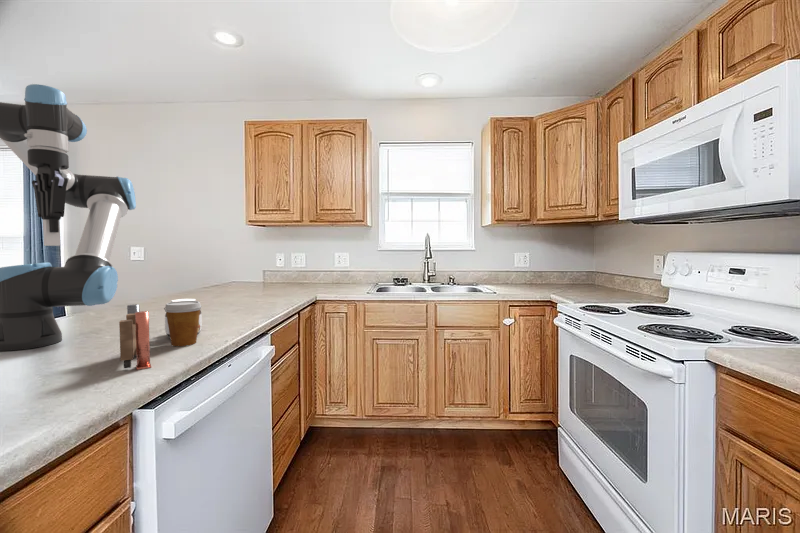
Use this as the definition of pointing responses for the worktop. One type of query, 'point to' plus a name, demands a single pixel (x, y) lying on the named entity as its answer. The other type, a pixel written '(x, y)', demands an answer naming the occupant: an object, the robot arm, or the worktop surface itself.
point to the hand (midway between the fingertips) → (52, 245)
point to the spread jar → (198, 323)
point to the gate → (127, 339)
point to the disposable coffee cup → (183, 321)
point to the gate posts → (141, 336)
